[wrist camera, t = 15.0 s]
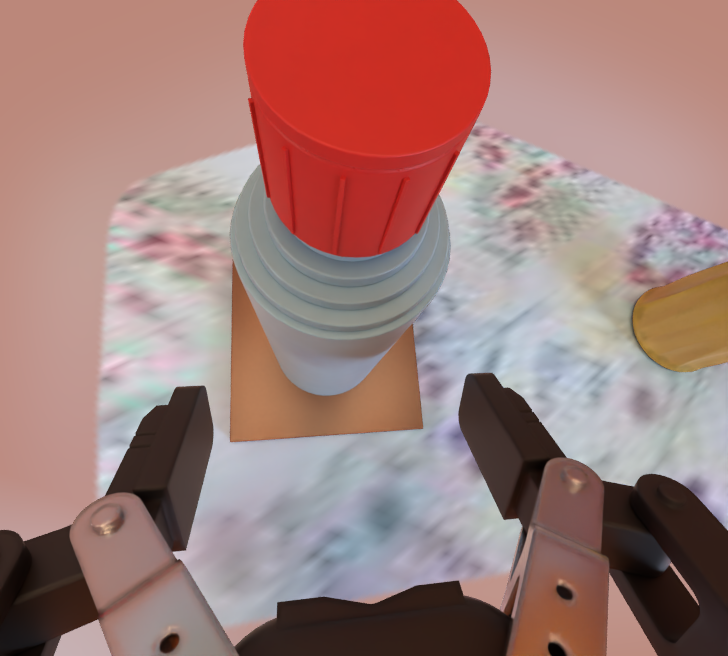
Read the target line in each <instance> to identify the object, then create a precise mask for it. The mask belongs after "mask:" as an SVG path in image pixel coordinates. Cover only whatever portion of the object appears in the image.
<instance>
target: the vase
mask: <svg viewBox="0 0 728 656" xmlns="http://www.w3.org/2000/svg"><path fill="white" fill-rule="evenodd" d="M633 328H634V332H635V335H636V338H637V340H638V342H639V344H640V346H641V347H642V348H643V350H644V351H645V352H646V354H647V355H648V356H649V357H650V358H651V359H653V360H654V361H655V362H656V363H658V364H659V365H661V366H663V367H665V368H667V369H670V370H673V371H678V372H692V371H696V370H698V369H701V368H704V367H709V366H713V365H718V364H722V363H726V362H728V262H725V263H722V264H719V265H716V266H714V267H711V268H708V269H705V270H702V271H699V272H697V273H694V274H691V275H688V276H686V277H684V278H681V279H679V280H676V281H674V282H672V283H670V284H668V285H665V286H661V287H656V288H652V289H650V290H648V291H647V292H645V293H644V294H643V295H642V296H641V297H640V298H639V300H638V301H637V303H636V305H635V307H634V311H633Z"/></svg>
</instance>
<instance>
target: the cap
mask: <svg viewBox="0 0 728 656" xmlns="http://www.w3.org/2000/svg"><path fill="white" fill-rule="evenodd" d="M243 47H244V59H245V65H246V70H247V75H248V81H249V87H250V92H251V98H249V99H248V101H249V107H250V112H251V117H252V122H253V128H254V133H255V138H256V143H257V148H258V154H259V159H260V164H261V169H262V175H263V180H264V185H265V190H266V195H267V198H270V200H271V202H272V205H273V207H274V210H275V211H276V213H277V215H278V216H279V218H280V220H281V221H282V222H283V223H284V225H285V226H286V227H287V228H288V229H289V230H290V232H291V233H292V234H294V235H295V236H297V237H298V238H299V239H300V240H302V241H303V242H305V243H306V244H308V245H309V246H311V247H313V248H316V249H318V250H320V251H323V252H326V253H329V254H332V255H336V256H340V257H355V258H358V257H371V256H375V255H380V254H383V253H385V252H388V251H390V250H392V249H395V248H397V247H399V246H400V245H402V244H403V243H405V242H406V241H407V240H409V239H410V238H411V237H412V236H413V235H414V234H415V233H416V234H418V233H419V231H420V229H421V227H422V226H423V224H424V222H425V220H426V218H427V216H428V214H429V212H430V210H431V208H432V206H433V204H434V202H435V200H436V198H437V196H438V195H439V193H440V191H441V189H442V187H443V185H444V183H445V181H446V179H447V177H448V175H449V173H450V171H451V169H452V167H453V165H454V164H455V162H456V160H457V158H458V156H459V154H460V151H461V149H462V147H463V145H464V143H465V142H466V140H467V138H468V136H469V134H470V132H471V130H472V128H473V126H474V124H475V122H476V120H477V118H478V116H479V114H480V112H481V110H482V108H483V106H484V103H485V101H486V98H487V95H488V91H489V87H490V78H491V66H490V57H489V53H488V49H487V45H486V43H485V40H484V38H483V36H482V33H481V31H480V30H479V28H478V26H477V25H476V23H475V21H474V20H473V18H472V17H471V16H470V15H469V13H468V12H467V10H466V9H465V8H464V7H463V6H462V5H461V4H460V3H459V2H458V1H457V0H257V2H256V3H255V5H254V7H253V9H252V11H251V13H250V15H249V17H248V21H247V24H246V28H245V31H244V42H243Z"/></svg>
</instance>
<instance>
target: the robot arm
mask: <svg viewBox="0 0 728 656" xmlns="http://www.w3.org/2000/svg"><path fill="white" fill-rule="evenodd" d="M459 424H460V428H461V431H462V433H463V435H464V437H465V439H466V441H467V443H468V445H469V447H470V450H471V452H472V454H473V456H474V458H475V460H476V462H477V464H478V466H479V469H480V471H481V473H482V475H483V477H484V479H485V481H486V483H487V485H488V487H489V490H490V492H491V494H492V496H493V498H494V500H495V502H496V504H497V506H498V508H499V511H500V513H501V515H502V517H503V519H504V520H506V519H516V518H519V520H520V522H521V524H522V529H521V532H520V535H519V539H518V543H517V547H516V551H515V555H514V559H513V563H512V567H511V571H510V575H509V579H508V583H507V587H506V591H505V595H504V598H503V601H502V604H501V607H500V610H499V609H497V608H495V607H494V606H491V605H490V604H488V603H486V602H483V601H481V600H478V599H475V598H472V597H468V596H463V592H462V590H461V586H460V583H459V581H451V582H443V583H434V584H426V585H418V586H414V587H412V588H410V589H407V590H405V591H403V592H401V593H398V594H396V595H394V596H391V597H389V598H387V599H385V600H382V601H380V602H378V603H375V604H366V603H360V602H353V601H347V600H341V599H335V598H329V597H318V598H310V599H301V600H293V601H285V602H277V618H275V619H273V620H270V621H268V622H266V623H265V624H263V625H261V626H259V627H258V628H256V629H255V630H253V631H252V632H251V633H249V634H248V635H247V636H245V637H244V638H243V639H242V640H241V641H240V642H239V643H238V644H237V645H236V646H235V647H234V646H233V645H232V643H231V641H230V640H229V638H228V636H227V635H226V633H225V631H224V630H223V628H222V626H221V625H220V623H219V621H218V620H217V618H216V616H215V615H214V613H213V611H212V610H211V608H210V606H209V605H208V603H207V601H206V600H205V598H204V596H203V595H202V593H201V591H200V590H199V588H198V586H197V585H196V583H195V581H194V580H193V578H192V576H191V575H190V573H189V571H188V570H187V568H186V567H185V565H184V564H183V562H182V561H181V560H180V559H179V560H177V559H176V558H175V556H174V554H173V553H172V552H173V551H183V550H186V548H187V544H188V540H189V536H190V532H191V528H192V524H193V520H194V516H195V512H196V508H197V504H198V500H199V496H200V492H201V488H202V485H203V481H204V477H205V473H206V469H207V465H208V461H209V457H210V453H211V449H212V444H213V423H212V417H211V412H210V407H209V402H208V397H207V392H206V388H205V386H186V387H176V388H175V390H174V392H173V395H172V397H171V399H170V402H169V404H168V405H159V406H156V407H155V408H154V409H152V410H151V411H150V412H149V413H148V414H147V415H146V416H145V417H144V418H143V419H142V421H141V423H140V425H139V427H138V429H137V431H136V436H134V437H133V440H132V442H131V444H130V448H129V449H128V450H127V452H126V454H125V456H124V458H123V460H122V462H121V464H120V466H119V468H118V470H117V472H116V474H115V476H114V478H113V480H112V483H111V485H110V487H109V489H108V491H107V493H106V495H105V496H104V497H102V498H100V499H98V500H96V501H95V502H93V503H91V504H90V505H89V506H87V507H86V508H85V509H84V510H83V511H82V512H81V513H80V514H79V515H78V516H77V517H76V519H75V520H74V522H73V524H72V525H70V526H67V527H65V528H62V529H60V530H56V531H53V532H51V533H48V534H45V535H42V536H39V537H36V538H33V539H30V540H27V541H23V540H22V538H21V537H20V536H19V534H17V533H16V532H13V531H9V530H0V656H54V653H55V651H56V648H57V646H58V643H59V640H60V638H61V635H63V634H65V633H67V632H69V631H72V630H74V629H77V628H79V627H81V626H83V625H86V624H88V623H91V622H93V621H95V620H97V619H98V620H99V623H100V626H101V628H102V631H103V634H104V636H105V639H106V641H107V644H108V647H109V649H110V652H111V655H112V656H606V648H607V619H608V590H609V573H610V575H611V576H612V578H613V580H614V581H615V583H616V585H617V587H618V588H619V590H620V592H621V593H622V595H623V597H624V599H625V600H626V602H627V604H628V605H629V607H630V609H631V611H632V612H633V614H634V616H635V617H636V619H637V621H638V622H639V624H640V626H641V628H642V629H643V631H644V633H645V635H646V636H647V638H648V639H649V641H650V643H651V645H652V647H653V648H654V650H655V652H656V653H657V655H658V656H728V530H727V529H726V528H725V527H724V526H723V525H722V524H721V523H720V522H719V521H718V520H717V518H716V517H715V516H714V515H713V514H712V513H711V512H710V511H709V510H708V509H707V507H706V506H705V505H704V504H703V503H702V502H701V501H700V500H699V499H698V498H697V497H696V496H695V495H694V494H693V493H692V492H691V491H690V490H689V489H688V488H686V487H685V486H683V485H682V484H680V483H679V482H677V481H675V480H673V479H670V478H668V477H665V476H661V475H656V474H646V475H643V476H641V477H640V478H639V479H638V481H637V483H636V485H635V486H634V487H633V486H627V485H622V484H617V483H612V482H606V481H602V480H601V479H600V478H599V476H598V475H597V474H596V473H595V472H594V471H593V470H592V469H591V468H589V467H588V466H586V465H584V464H583V463H581V462H579V461H576V460H573V459H569V458H567V457H566V456H565V455H564V453H563V452H562V451H561V449H560V448H559V446H558V445H557V444H556V442H555V441H554V440H553V438H552V437H551V435H550V434H549V433H548V431H547V430H546V429H545V427H544V426H543V425H542V423H541V422H539V419H538V418H537V416H536V415H535V414H534V412H532V409H531V408H530V407H529V405H528V404H527V403H526V401H525V400H524V398H523V397H521V396H520V395H519V394H517V393H516V392H515V391H513V390H512V389H510V388H503V387H502V385H501V384H500V382H499V381H498V379H497V378H496V376H495V375H494V374H493V373H474V374H468V375H467V376H466V379H465V383H464V388H463V393H462V398H461V402H460V407H459ZM671 562H672V563H673V564H674V566H675V567H676V569H677V570H678V571H679V573H680V574H681V575H682V577H683V578H684V579H685V581H686V582H687V584H688V585H689V586H690V588H691V589H692V590H693V592H694V594H695V596H696V598H697V600H698V603H699V605H698V604H697V603H696V601H695V600H694V599H693V597H692V596H691V595H690V593H689V592H688V590H687V589H686V588H685V586H684V585H683V583H682V582H681V581H680V579H679V578H678V576H677V575H676V574H675V572H674V571H673V569H672V568H671V567H670V563H671Z"/></svg>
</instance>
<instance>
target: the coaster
mask: <svg viewBox="0 0 728 656" xmlns="http://www.w3.org/2000/svg"><path fill="white" fill-rule="evenodd" d="M410 429H423V422H422V412H421V402H420V392H419V383H418V373H417V363H416V353H415V344H414V334H413V324H411V325H410V327H409V328H408V329H407V330H406V331H405V332H404V333H403V335H402V336H401V337H400V338H399V339H398V340H397V342H396V343H395V344H394V345H393V346H392V347H391V348H390V350H389V351H388V352H387V353H386V354H385V355H384V357H383V358H382V359H381V360H380V361H379V362H378V363H377V365H376V366H375V367H374V368H373V369H372V370H371V372H370V373H369V374H368V375H367V376H366V377H365V378H364V379H363V380H362V381H361V382H360V383H359V384H358V385H357V386H355V387H354V388H352V389H351V390H349V391H346V392H344V393H341V394H337V395H330V396H322V395H315V394H312V393H308V392H306V391H304V390H302V389H300V388H299V387H297V386H296V385H294V384H293V383H292V382H291V381H290V380H289V379H288V378H287V377H286V375H285V374H284V372H283V371H282V369H281V367H280V365H279V363H278V360H277V358H276V356H275V354H274V352H273V349H272V347H271V345H270V343H269V341H268V338H267V336H266V334H265V332H264V330H263V327H262V325H261V323H260V321H259V319H258V316H257V314H256V312H255V310H254V308H253V306H252V303H251V301H250V299H249V297H248V295H247V292H246V290H245V288H244V286H243V284H242V281H241V279H240V277H239V275H238V272H237V269H236V267H235V264H234V261H233V278H232V344H231V410H230V442H240V441H254V440H268V439H282V438H297V437H311V436H325V435H339V434H353V433H368V432H382V431H396V430H410Z"/></svg>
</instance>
